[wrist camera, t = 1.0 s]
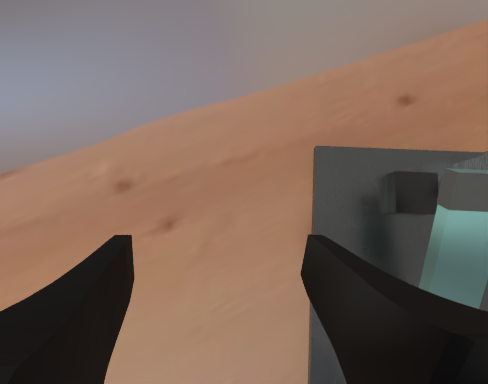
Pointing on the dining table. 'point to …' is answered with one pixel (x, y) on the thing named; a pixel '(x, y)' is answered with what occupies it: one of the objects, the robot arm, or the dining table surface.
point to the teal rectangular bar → (459, 239)
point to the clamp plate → (377, 219)
